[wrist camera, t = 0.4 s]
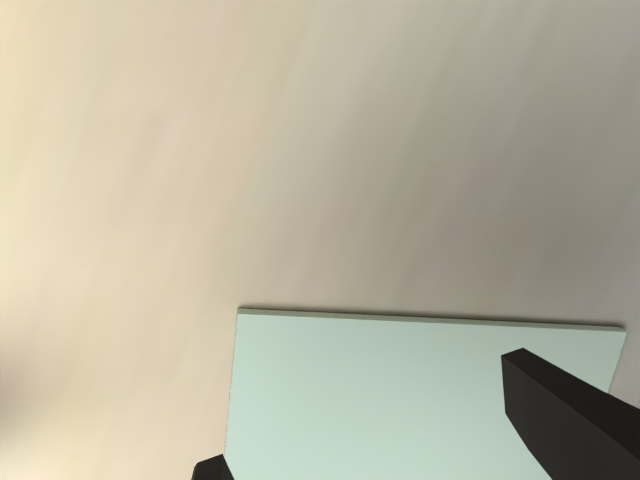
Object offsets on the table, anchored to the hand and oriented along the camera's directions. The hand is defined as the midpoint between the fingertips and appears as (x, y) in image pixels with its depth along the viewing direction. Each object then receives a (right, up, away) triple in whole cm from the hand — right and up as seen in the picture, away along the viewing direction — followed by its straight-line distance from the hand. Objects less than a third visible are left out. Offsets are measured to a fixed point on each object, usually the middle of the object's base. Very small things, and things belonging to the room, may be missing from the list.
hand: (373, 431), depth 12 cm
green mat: (+4, -4, +13) cm, 15 cm away
